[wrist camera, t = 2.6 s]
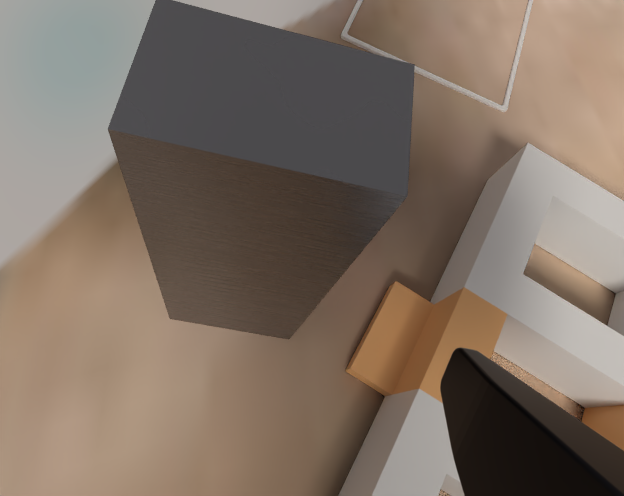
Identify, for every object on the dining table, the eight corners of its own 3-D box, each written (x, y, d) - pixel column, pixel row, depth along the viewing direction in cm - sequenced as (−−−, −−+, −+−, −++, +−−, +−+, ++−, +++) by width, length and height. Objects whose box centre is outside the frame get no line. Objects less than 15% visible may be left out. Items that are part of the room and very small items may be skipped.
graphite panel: (289, 339, 20) (407, 196, 8) (169, 318, 19) (108, 128, 7) (299, 273, 21) (414, 64, 9) (186, 251, 20) (157, -4, 9)
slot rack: (541, 785, 16) (624, 872, 13) (232, 585, 16) (238, 620, 13) (656, 283, 25) (722, 260, 22) (455, 160, 25) (491, 120, 22)
